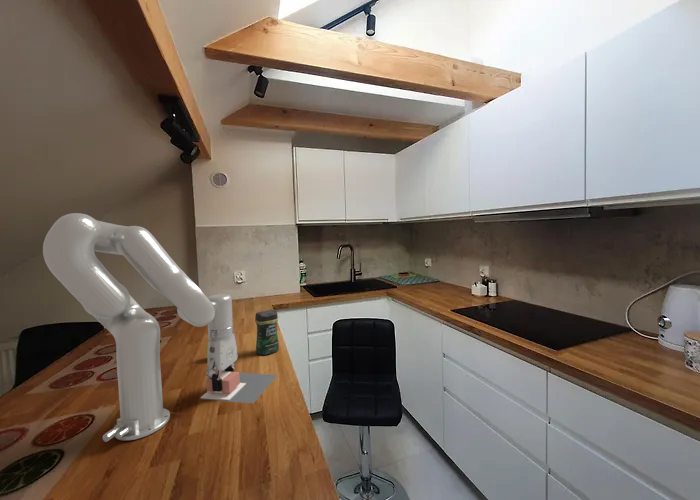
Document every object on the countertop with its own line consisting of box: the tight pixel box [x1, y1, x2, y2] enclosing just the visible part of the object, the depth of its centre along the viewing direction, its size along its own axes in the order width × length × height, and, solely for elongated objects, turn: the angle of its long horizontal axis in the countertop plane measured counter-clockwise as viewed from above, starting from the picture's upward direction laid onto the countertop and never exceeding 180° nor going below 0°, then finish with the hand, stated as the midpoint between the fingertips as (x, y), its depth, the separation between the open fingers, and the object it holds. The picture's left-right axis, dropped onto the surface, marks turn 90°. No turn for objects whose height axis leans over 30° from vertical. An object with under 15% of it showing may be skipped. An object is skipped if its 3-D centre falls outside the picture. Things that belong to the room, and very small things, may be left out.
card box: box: [206, 370, 240, 393], centre depth 96 cm, size 8×6×4 cm
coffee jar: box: [254, 309, 280, 356], centre depth 129 cm, size 10×8×19 cm
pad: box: [200, 383, 246, 401], centre depth 96 cm, size 10×10×1 cm
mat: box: [201, 372, 278, 404], centre depth 99 cm, size 18×18×1 cm
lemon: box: [205, 344, 208, 358], centre depth 123 cm, size 6×6×8 cm
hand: (223, 384), depth 96 cm, fingers closed on card box, 6 cm apart
